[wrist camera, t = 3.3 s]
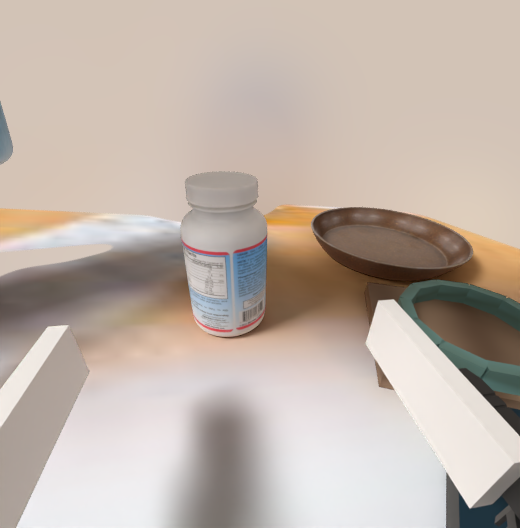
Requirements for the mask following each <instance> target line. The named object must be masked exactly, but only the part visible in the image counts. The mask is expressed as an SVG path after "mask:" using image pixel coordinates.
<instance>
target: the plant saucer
mask: <svg viewBox="0 0 520 528" xmlns="http://www.w3.org/2000/svg"><path fill="white" fill-rule="evenodd" d="M311 227H312V230H313V233H314V235H315V237H316V239H317V240H318V242H319V243H320V245H321V246H322V248H323V249H324V250H325V251H326V252H327V254H328V255H330V256H331V257H332V258H333V259H335V260H336V261H338V262H339V263H341V264H343V265H344V266H346V267H349V268H351V269H353V270H355V271H358V272H361V273H364V274H367V275H371V276H375V277H379V278H384V279H390V280H400V281H416V280H425V279H430V278H434V277H437V276H439V275H442V274H445V273H447V272H449V271H451V270H453V269H456V268H458V267H459V266H461V265H463V264H464V263H466V262H467V261H469V260H470V259H471V257H472V255H473V249H472V246H471V245H470V243H469V242H468V241H467V240H466V239H465V238H464V237H463V236H461V235H460V234H458V233H457V232H455V231H454V230H452V229H450V228H448V227H446V226H443V225H441V224H438V223H436V222H434V221H431V220H428V219H425V218H421V217H418V216H415V215H411V214H406V213H402V212H397V211H392V210H385V209H377V208H362V207H350V208H338V209H332V210H328V211H324V212H322V213H320V214H318V215H316V216H315V217H314V218H313V220H312V222H311Z"/></svg>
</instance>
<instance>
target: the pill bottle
mask: <svg viewBox="0 0 520 528" xmlns="http://www.w3.org/2000/svg"><path fill="white" fill-rule="evenodd" d="M185 188H186V199H187V201H188V204H189V206H191V207H192V208H193V209H192V210H191V211H190V212H188V213H187V214H186V215H185V217H184V219H183V220H182V223H181V227H180V231H181V239H182V246H183V252H184V259H185V266H186V272H187V279H188V285H189V292H190V298H191V304H192V311H193V316H194V319H195V321H196V323H197V324H198V326H199V327H200V328H201V329H202V330H204V331H205V332H207V333H209V334H212V335H215V336H221V337H232V336H238V335H242V334H245V333H247V332H249V331H251V330H253V329H254V328H255V327H257V326H258V325H259V324H260V322H261V321H262V319H263V317H264V314H265V306H266V263H267V223H266V220H265V218H264V216H263V215H262V213H260V211H258V210H257V209H255V208H254V207H253V206H254V205H255V203H256V202H257V198H258V181H257V178H256V177H254V176H252V175H249V174H245V173H239V172H207V173H201V174H196V175H193V176H190V177H189V178H187V179H186V181H185Z"/></svg>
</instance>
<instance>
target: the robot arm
mask: <svg viewBox="0 0 520 528" xmlns="http://www.w3.org/2000/svg"><path fill="white" fill-rule="evenodd" d="M12 152H13V146H12V141H11V137H10V134H9V130H8V126H7V123H6V119H5V116H4V113H3V109H2V106H1V102H0V164H2V163H4V162H6V161H7V160H8V159H9V158H10V157H11V155H12ZM366 345H367V347H368V349H369V350H370V352H371V353H372V355H373V356H374V358H375V360H376V361H377V363H378V364H379V366H380V367H381V369H382V371H383V372H384V374H385V375H386V377H387V379H388V380H389V382H390V383H391V385H392V386H393V388H394V390H395V391H396V393H397V394H398V396H399V398H400V399H401V401H402V402H403V404H404V405H405V407H406V409H407V410H408V412H409V413H410V415H411V417H412V418H413V420H414V421H415V423H416V424H417V426H418V428H419V429H420V431H421V432H422V434H423V435H424V437H425V439H426V440H427V442H428V443H429V445H430V447H431V448H432V450H433V451H434V453H435V454H436V456H437V458H438V459H439V461H440V462H441V464H442V466H443V467H444V469H445V470H446V472H447V473H448V475H449V477H450V478H451V480H452V481H453V483H454V485H455V486H456V488H457V489H458V491H459V492H460V494H461V496H462V497H463V499H464V500H465V502H466V504H467V505H468V507H469V508H470V509H471V508H476V507H481V506H486V505H491V504H493V503H494V502H495V501H496V500H497V499H498V498H499V497H500V496H501V495H502V496H503V498H504V499H505V501H506V502H507V503H508V506H507V507H506V508H505V509H504V510H502V511H501V512H500V513H499V514H498V515H497V516H496V517H495V525H497V526H500V525H502V524H503V523H504V522H505V521H506V520H507V525H508V526H507V528H520V418H519V417H518V416H517V414H516V413H515V412H514V411H513V410H512V409H511V408H510V407H509V408H508V407H507V404H506V403H505V402H504V401H503V400H502V399H501V398H500V397H499V396H496V394H495V392H494V391H493V390H492V389H491V388H490V387H489V386H488V385H487V384H486V383H485V382H484V381H483V380H482V379H481V378H480V377H478V376H477V375H475V374H474V373H472V372H471V371H469V370H468V369H466V368H461V369H457V368H456V366H455V365H454V364H453V363H452V362H451V361H450V360H449V359H448V358H447V357H446V356H445V355H444V353H443V352H442V351H441V350H440V349H439V348H438V347H437V346H436V345H435V344H434V343H433V342H432V340H431V339H430V338H429V337H428V336H427V335H426V334H425V333H424V332H423V331H422V330H421V328H420V327H419V326H418V325H417V324H416V323H415V322H414V321H413V320H412V319H411V318H410V317H409V315H408V314H407V313H406V312H405V311H404V310H403V309H402V308H401V307H400V306H399V305H398V304H397V302H396V301H395V300H394V299H392V300H380V301H378V303H377V307H376V310H375V313H374V317H373V320H372V323H371V327H370V330H369V334H368V337H367V340H366ZM88 374H89V369H88V367H87V365H86V362H85V360H84V358H83V356H82V353H81V351H80V349H79V347H78V344H77V342H76V340H75V338H74V335H73V333H72V331H71V329H70V326H69V325H62V326H49V327H47V328H46V330H45V331H44V332H43V334H42V335H41V336H40V338H39V339H38V340H37V341H36V343H35V344H34V345H33V347H32V348H31V349H30V351H29V352H28V353H27V355H26V356H25V357H24V359H23V360H22V361H21V363H20V364H19V365H18V367H17V368H16V369H15V371H14V372H13V373H12V375H11V376H10V377H9V379H8V380H7V381H6V383H5V384H4V385H3V387H2V388H1V389H0V528H16V526H17V524H18V522H19V520H20V518H21V516H22V514H23V512H24V509H25V507H26V505H27V503H28V501H29V499H30V497H31V495H32V493H33V490H34V488H35V486H36V484H37V482H38V480H39V478H40V476H41V473H42V471H43V469H44V467H45V465H46V463H47V461H48V459H49V456H50V454H51V452H52V450H53V448H54V446H55V444H56V442H57V439H58V437H59V435H60V433H61V431H62V429H63V427H64V425H65V422H66V420H67V418H68V416H69V414H70V412H71V410H72V408H73V405H74V403H75V401H76V399H77V397H78V395H79V393H80V391H81V388H82V386H83V384H84V382H85V380H86V378H87V376H88Z"/></svg>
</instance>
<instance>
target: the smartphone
mask: <svg viewBox="0 0 520 528" xmlns="http://www.w3.org/2000/svg"><path fill="white" fill-rule="evenodd" d="M508 408H509V407H508ZM511 409H512V410H513V411H514V412H515V413H516V414H517V416H518V417H519V418H520V410H519V409H514V408H511ZM507 506H508V503H507V502H506V501H505V499H504V498H503V496H502V495H501V496H500V497H499V498H498V499H497V500H496V501H495V502H494V503H493V504H491V505H486V506H481V507H476V508H471V509H470V508H469V507H468V505H467V504H466V502H465V500H464V499H463V497H462V496H461V494H460V492H459V491H458V489H457V488H456V486H455V485H454V483H453V481H452V480H451V478H450V477H449V475H448V473H447V472H446V528H507V526H508V525H507V520H506V521H505V522H504V523H503V524H502V525H500V526H497V525H495V517H496V516H497V515H498V514H499V513H500V512H501V511H502V510H504V509H505V508H506V507H507Z"/></svg>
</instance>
